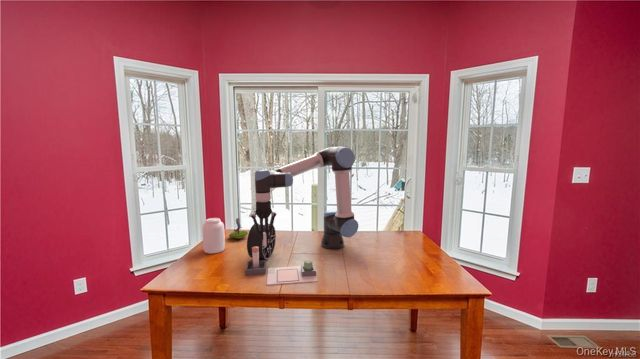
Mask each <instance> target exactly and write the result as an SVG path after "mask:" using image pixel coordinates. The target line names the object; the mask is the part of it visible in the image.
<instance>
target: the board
mask: <svg viewBox="0 0 640 359" xmlns="http://www.w3.org/2000/svg"><path fill="white" fill-rule="evenodd" d="M301 266H302V265H296V266H294V265H293V266H281V267H280V266H278V267H267V275H266V276H267V277H266V278H267V280H266V286H276V285H290V284H291V285H292V284H304V283H316V282H318V278H317V275H316V276H305V277H302V274H301Z"/></svg>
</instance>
